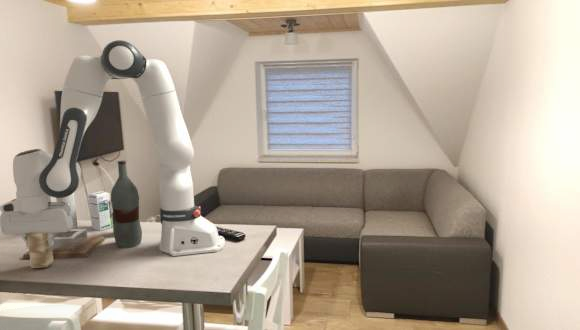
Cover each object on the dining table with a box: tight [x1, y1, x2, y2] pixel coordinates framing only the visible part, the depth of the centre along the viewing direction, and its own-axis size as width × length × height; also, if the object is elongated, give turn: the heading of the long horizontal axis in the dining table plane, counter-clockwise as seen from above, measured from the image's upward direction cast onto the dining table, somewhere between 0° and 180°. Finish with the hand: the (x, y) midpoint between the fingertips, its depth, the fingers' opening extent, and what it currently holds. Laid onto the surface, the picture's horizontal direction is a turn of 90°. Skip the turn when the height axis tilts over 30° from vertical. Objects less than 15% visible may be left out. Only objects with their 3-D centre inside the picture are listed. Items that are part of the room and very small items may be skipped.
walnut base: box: [22, 235, 105, 260], centre depth 148 cm, size 20×16×2 cm
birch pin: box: [27, 233, 55, 269], centre depth 132 cm, size 4×4×11 cm
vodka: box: [110, 160, 143, 249], centre depth 149 cm, size 9×9×30 cm
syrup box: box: [87, 190, 113, 232], centre depth 169 cm, size 6×6×14 cm
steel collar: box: [52, 228, 89, 251], centre depth 147 cm, size 10×10×4 cm
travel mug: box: [55, 192, 79, 229], centre depth 166 cm, size 6×7×20 cm
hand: (40, 246), depth 132 cm, fingers closed on birch pin, 4 cm apart
